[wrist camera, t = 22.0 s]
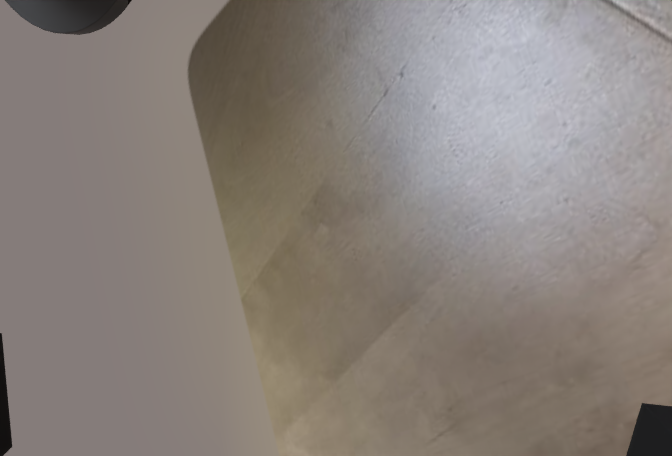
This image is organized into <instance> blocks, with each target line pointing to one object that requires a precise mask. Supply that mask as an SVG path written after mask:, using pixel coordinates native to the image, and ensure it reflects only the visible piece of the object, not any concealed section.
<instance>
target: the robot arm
mask: <svg viewBox="0 0 672 456" xmlns="http://www.w3.org/2000/svg"><path fill="white" fill-rule="evenodd" d="M11 447H12V439H11V429H10V418H9V408H8V397H7V385H6V375H5V365H4V353H3V343H2V334H1V333H0V456H3V455H4V454H5V453H6V452H7V451H8V450H9V449H10V448H11ZM626 456H672V406H663V405H653V404H644V403H642V405H641V408H640V412H639V415H638V418H637V422H636V425H635V428H634V432H633V435H632V439H631V442H630V445H629V449H628V452H627V455H626Z"/></svg>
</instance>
